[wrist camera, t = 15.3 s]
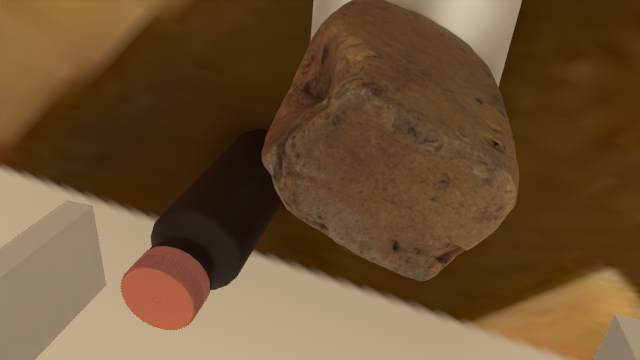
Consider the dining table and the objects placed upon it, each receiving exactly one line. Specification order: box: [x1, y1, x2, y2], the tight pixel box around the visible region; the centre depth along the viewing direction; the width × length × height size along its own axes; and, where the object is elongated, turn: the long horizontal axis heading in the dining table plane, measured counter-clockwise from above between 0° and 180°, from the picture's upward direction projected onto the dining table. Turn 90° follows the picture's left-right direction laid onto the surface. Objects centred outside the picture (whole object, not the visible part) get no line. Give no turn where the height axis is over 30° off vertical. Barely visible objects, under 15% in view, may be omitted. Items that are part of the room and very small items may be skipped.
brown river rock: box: [261, 0, 519, 281], centre depth 26 cm, size 11×8×20 cm
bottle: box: [121, 130, 282, 330], centre depth 37 cm, size 7×7×20 cm
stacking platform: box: [311, 0, 522, 86], centre depth 36 cm, size 14×14×4 cm
